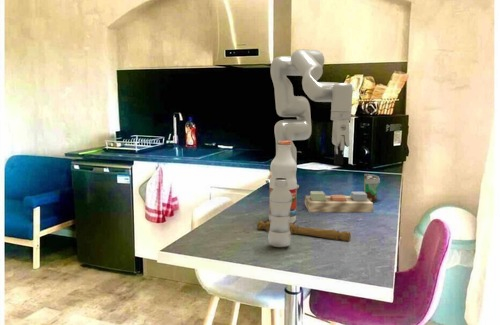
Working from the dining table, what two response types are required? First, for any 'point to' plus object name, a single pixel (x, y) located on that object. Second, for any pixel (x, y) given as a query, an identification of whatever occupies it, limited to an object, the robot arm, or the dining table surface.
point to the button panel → (338, 205)
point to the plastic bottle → (280, 214)
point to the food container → (371, 186)
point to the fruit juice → (284, 174)
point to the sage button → (317, 196)
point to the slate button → (358, 196)
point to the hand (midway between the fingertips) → (338, 164)
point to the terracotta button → (338, 198)
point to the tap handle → (311, 231)
